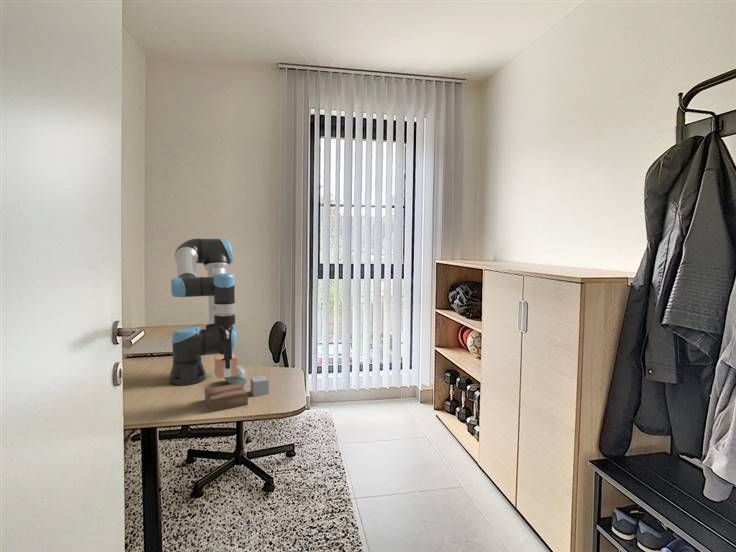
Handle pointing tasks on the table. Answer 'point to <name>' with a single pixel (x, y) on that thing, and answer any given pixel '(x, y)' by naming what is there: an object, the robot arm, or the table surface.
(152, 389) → the table surface
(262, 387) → the grey cube
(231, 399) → the walnut block
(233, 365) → the terracotta cube
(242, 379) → the yarn skein
